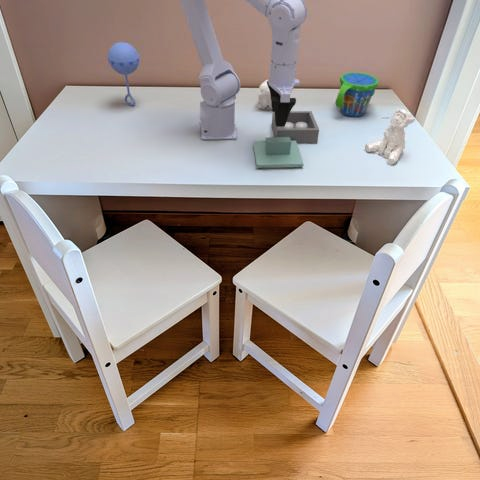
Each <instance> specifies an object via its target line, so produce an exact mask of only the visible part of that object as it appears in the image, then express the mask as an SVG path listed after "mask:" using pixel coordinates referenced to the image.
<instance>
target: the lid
mask: <svg viewBox="0 0 480 480" xmlns="http://www.w3.org/2000/svg"><path fill="white" fill-rule="evenodd" d="M252 147H253V152H254V153H253V154H254V159H255V160H254V161H255V164H256V168H257V169H259V168H262V169H263V168H265V169H266V168H268V169H269V168H303V167H304V165H305V163H304V161H303V157H302V154H301V152H300V151H301V150H300V149H299V144H297V142H296V141H291V139H290V137H275V136H272V137H270V136H269V137H267V136H266V137H265V140H262V141H261V140H254V141H252Z"/></svg>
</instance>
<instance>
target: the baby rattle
mask: <svg viewBox="0 0 480 480" xmlns="http://www.w3.org/2000/svg"><path fill="white" fill-rule="evenodd" d="M107 61H108V64H109V65H110V67H111V68H112V69H113V70H114V72H116V73H118V74H120V75H123V76H124V78H125V84H126V90H127V93H126V95H125V97H124V102H125V104H126V105H130V106H131V107H135V106H136V100H135V98H134V97H133V96H132V94H131V93H130V86H129V78H128V75H131V74H132V73H134V72H135V71H136V70H137V69H138V67H139V64H140V54H139V53H138V52H137V49H136V48H135V47H134V46H133V45H132V44H130V43H128V42H123V41H120V42H115V44H112V45H111V47H110V49H109V50H108V54H107ZM128 98H130V99H131V101H132V102H131V101H128V100H127V99H128Z"/></svg>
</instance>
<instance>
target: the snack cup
mask: <svg viewBox="0 0 480 480" xmlns="http://www.w3.org/2000/svg"><path fill="white" fill-rule="evenodd" d="M339 82H340V88H339V91H338V93H337V97H336V99H335V103H334V104H335V106H336V108H338V109H339V110H340V112H341V113H342V114H343V115H344V116H349V117H356V118H358V117H360V116H364V114H365V113H366V112H367V109H368V107H369V105H370V102H371V100H372V97H373V96H374V95H375V92H376V88H377V87H378V86H379V80H378V78H377V77H375V76H374V75H372V74H368V73H364V72H346V73H343V74H342V75H341V76H340V77H339Z"/></svg>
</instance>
